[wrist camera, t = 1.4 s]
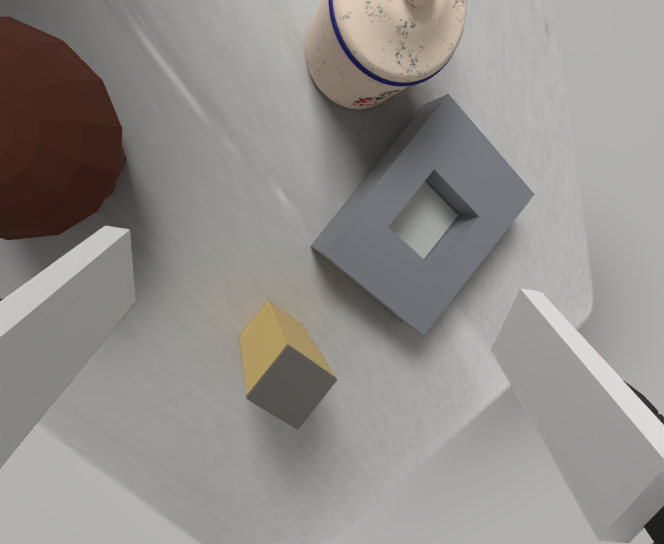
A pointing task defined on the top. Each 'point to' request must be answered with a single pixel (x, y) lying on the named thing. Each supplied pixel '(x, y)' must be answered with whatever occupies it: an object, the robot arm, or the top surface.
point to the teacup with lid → (380, 46)
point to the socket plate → (425, 215)
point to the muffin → (52, 135)
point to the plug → (283, 366)
